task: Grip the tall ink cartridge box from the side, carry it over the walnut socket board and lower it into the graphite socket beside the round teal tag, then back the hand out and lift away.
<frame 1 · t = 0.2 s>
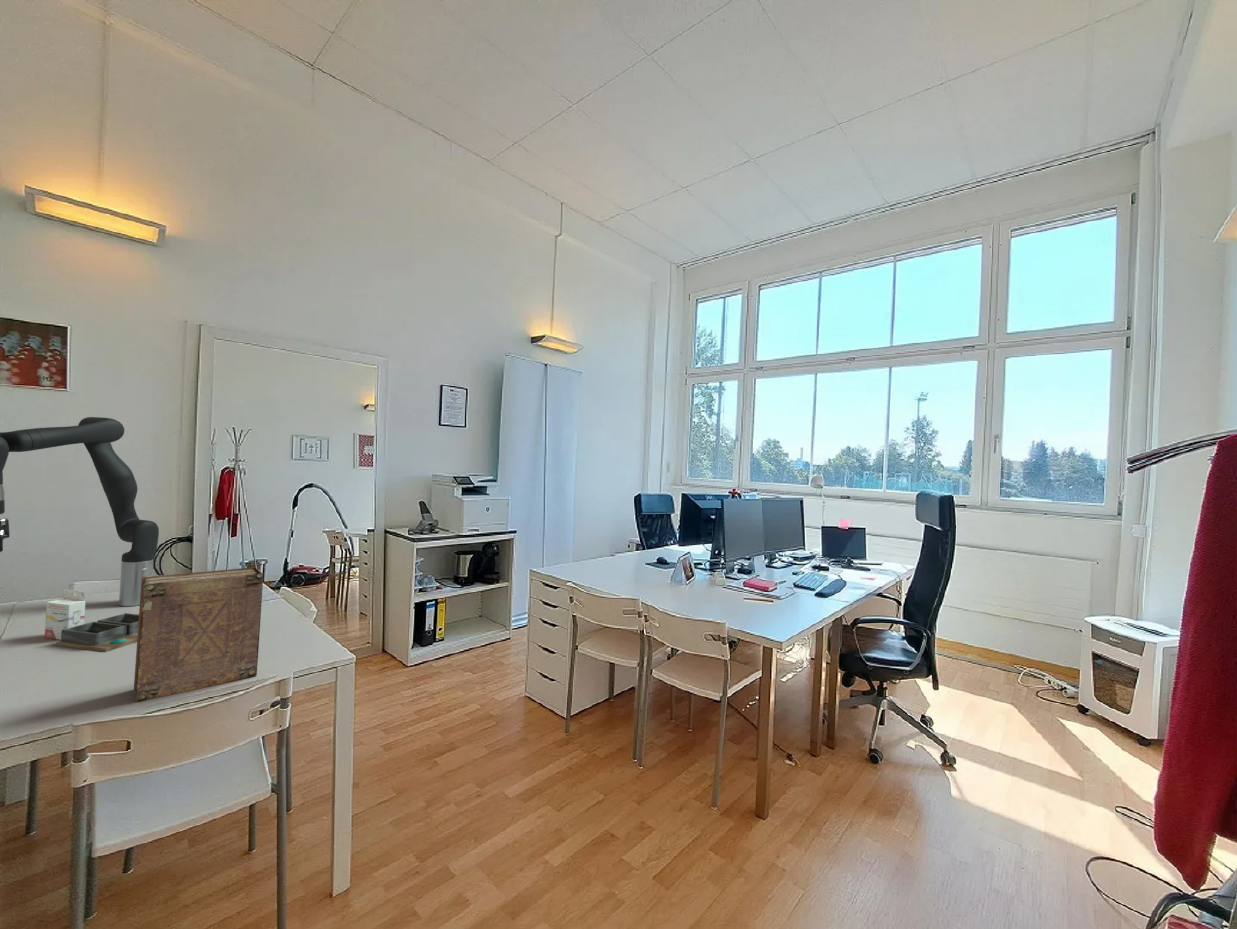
ink cartridge box: (63, 637, 162), on the table
book: (198, 683, 138), on the table
socket board: (117, 637, 164), on the table
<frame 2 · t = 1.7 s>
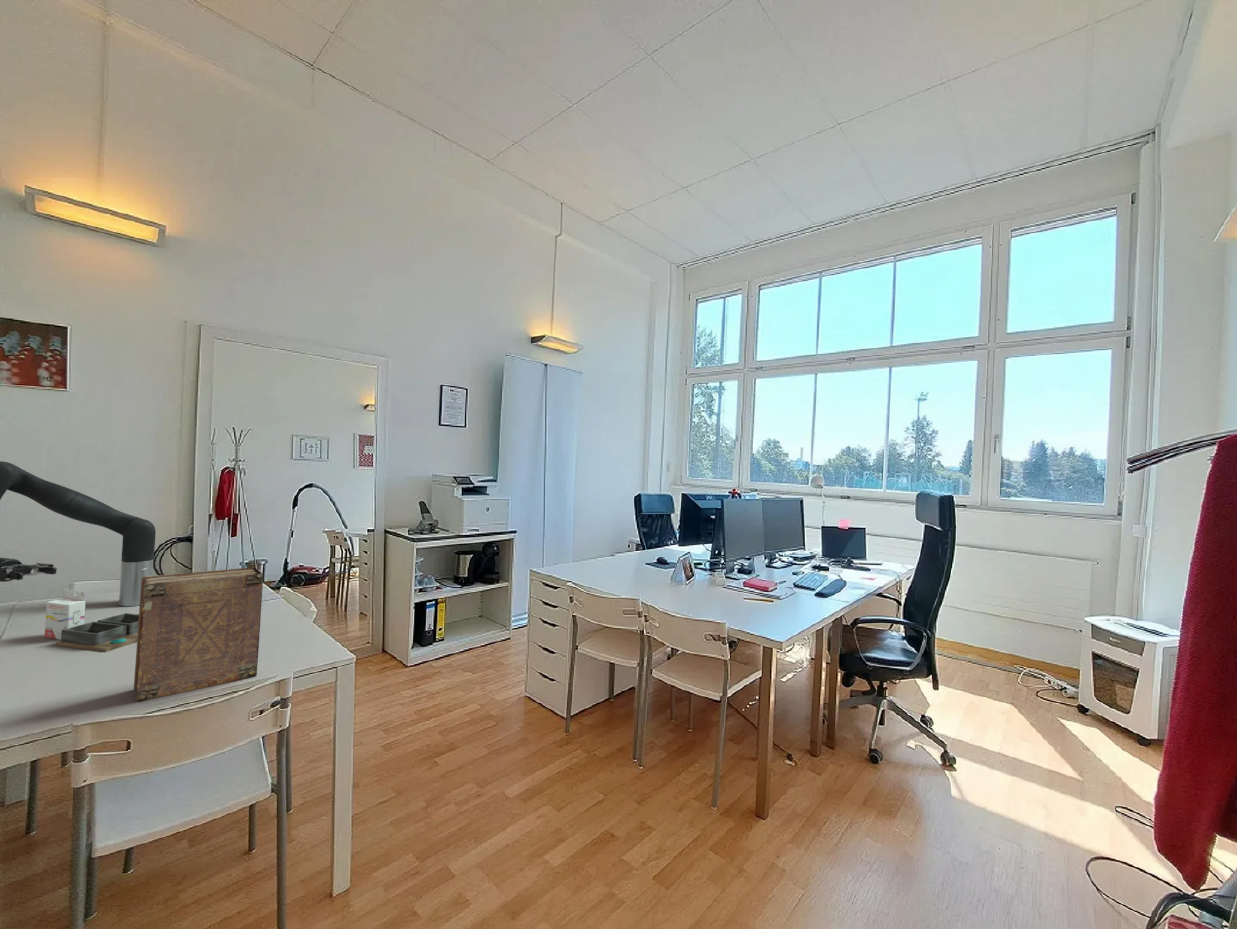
hand: (38, 573, 163), 20 cm above the table, tool horizontal, fingers open, 8 cm apart
nothing on the table moved.
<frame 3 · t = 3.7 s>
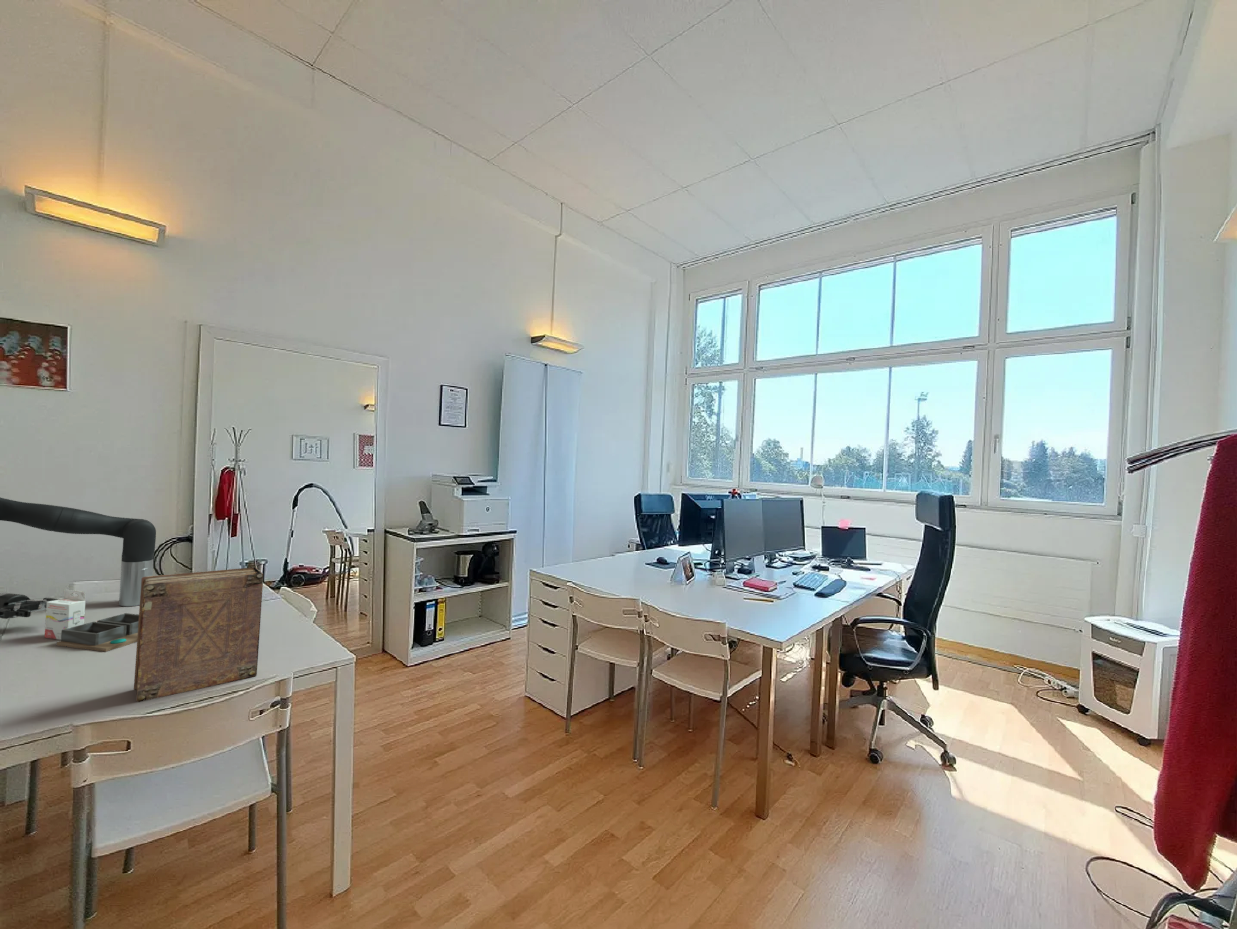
hand: (46, 610, 163), 8 cm above the table, tool horizontal, fingers open, 8 cm apart
nothing on the table moved.
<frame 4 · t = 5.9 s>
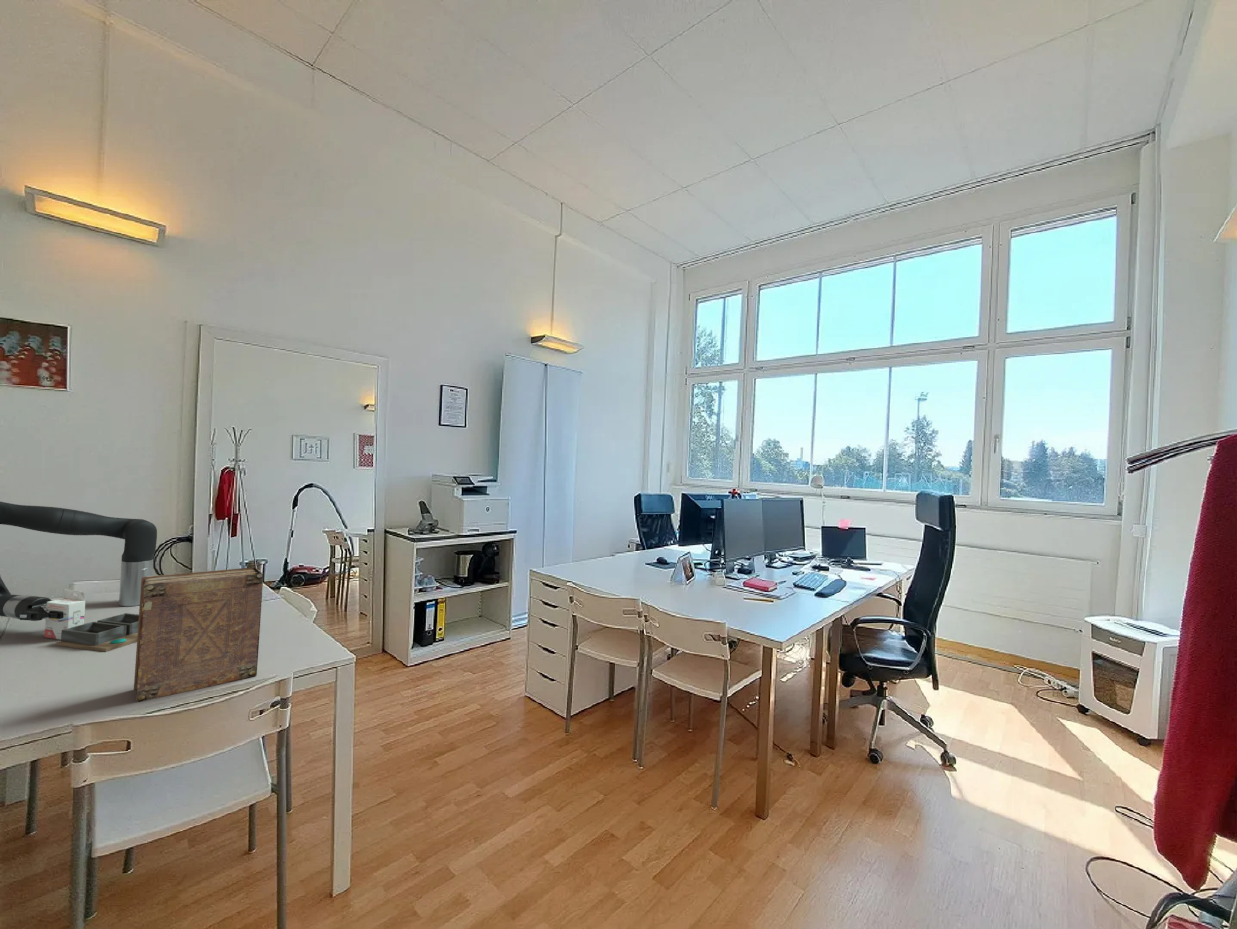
hand: (72, 612, 162), 8 cm above the table, tool horizontal, fingers closed on ink cartridge box, 5 cm apart
ink cartridge box: (64, 637, 162), on the table, touching gripper
everything else where it was.
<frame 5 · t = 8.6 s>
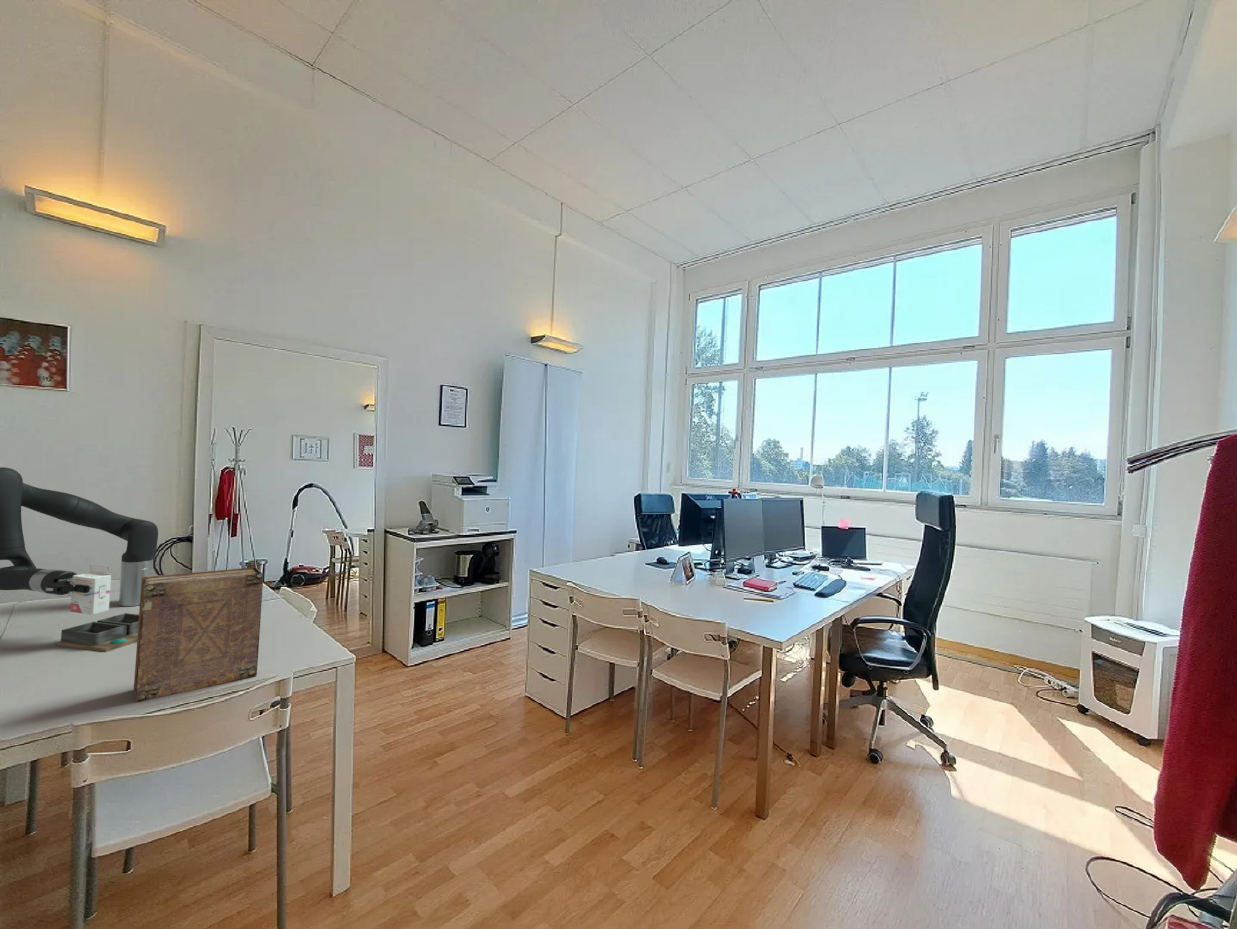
hand: (98, 587, 159), 18 cm above the table, tool horizontal, fingers closed on ink cartridge box, 5 cm apart
ink cartridge box: (89, 612, 159), point 9 cm above the table, touching gripper
everything else where it was.
when the fingers open (10 cm above the table, at t = 11.1 s): ink cartridge box drops 1 cm, resting on socket board.
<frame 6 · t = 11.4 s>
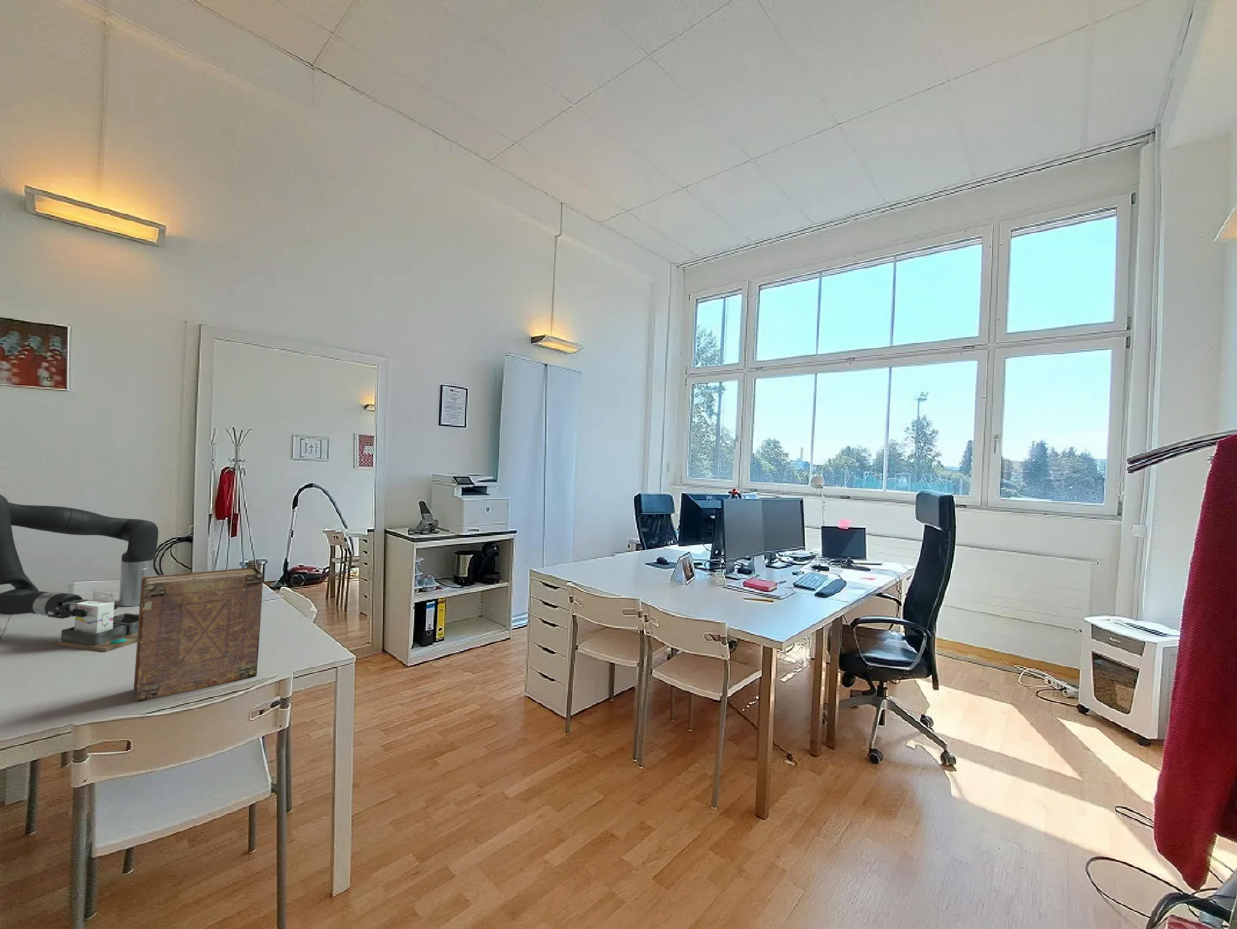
hand: (101, 609, 159), 10 cm above the table, tool horizontal, fingers open, 8 cm apart
ink cartridge box: (93, 639, 159), point 1 cm above the table, touching socket board
everything else where it was.
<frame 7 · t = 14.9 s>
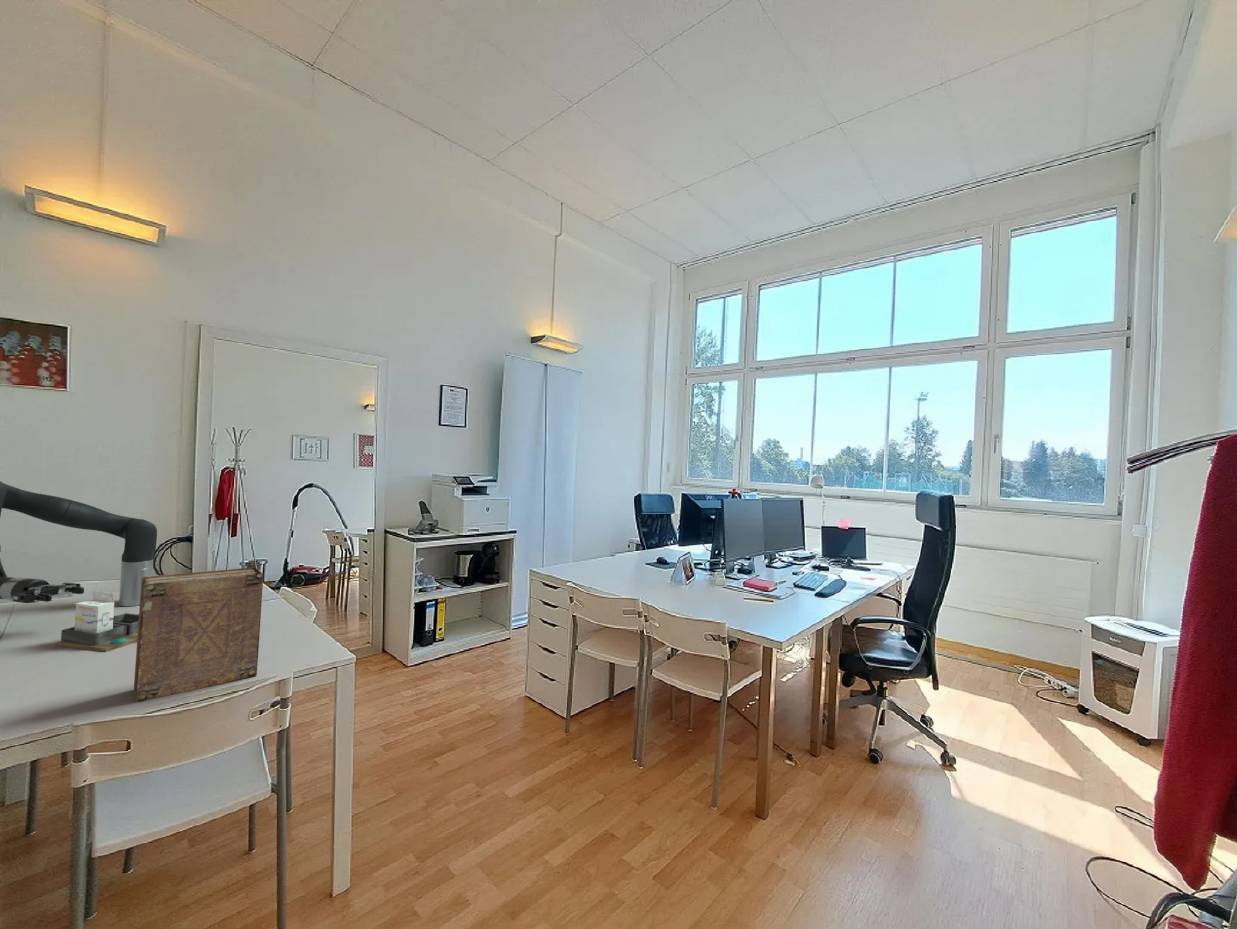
hand: (67, 594, 161), 14 cm above the table, tool horizontal, fingers open, 8 cm apart
nothing on the table moved.
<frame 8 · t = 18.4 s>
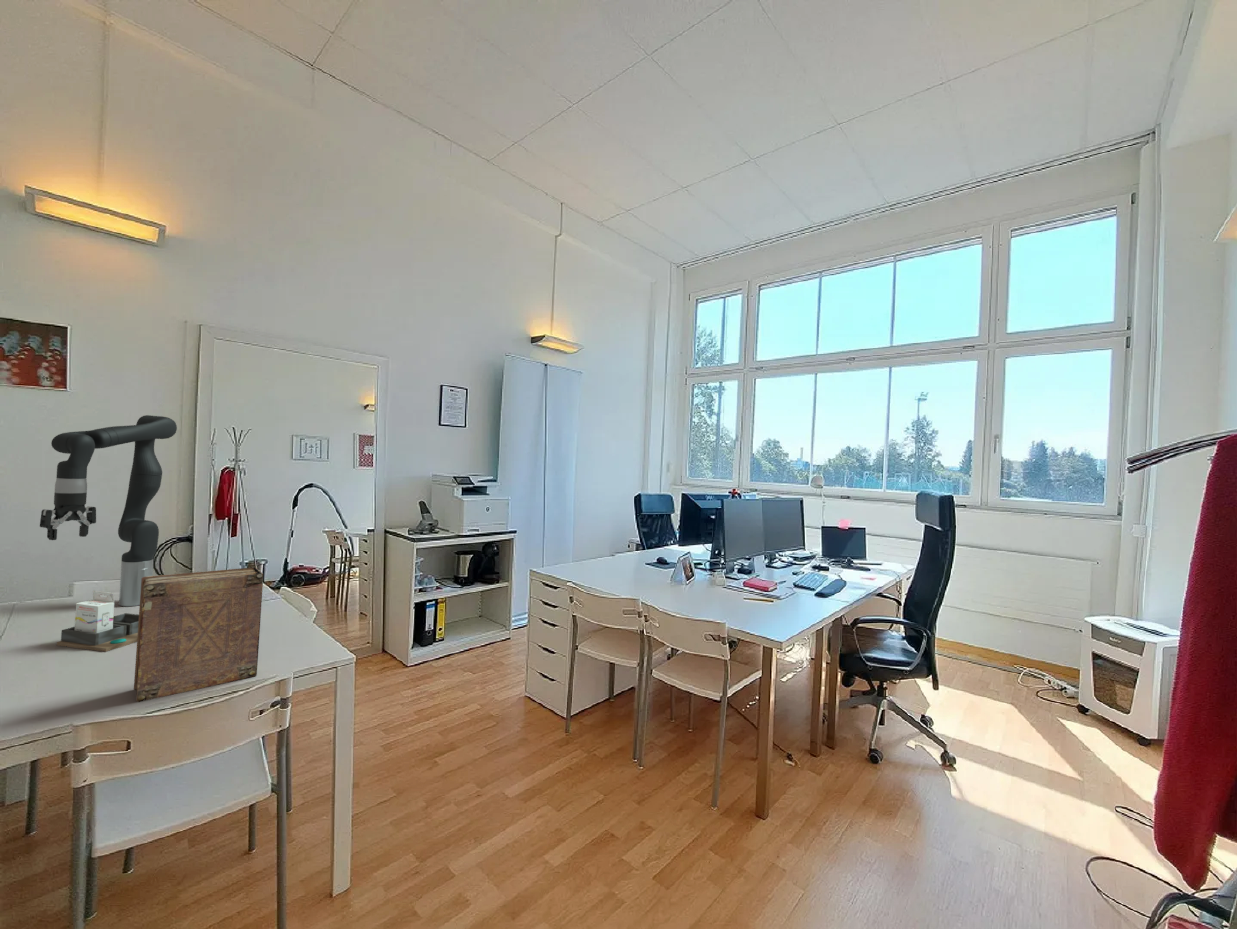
hand: (68, 538, 171), 30 cm above the table, tool pointing down, fingers open, 8 cm apart
nothing on the table moved.
at the end: ink cartridge box 0.2 cm from the target spot on the socket board, point 0.8 cm above the socket board's base; ink cartridge box tilted 0°; the gripper is holding nothing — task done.
